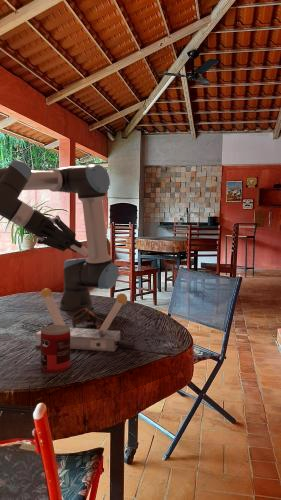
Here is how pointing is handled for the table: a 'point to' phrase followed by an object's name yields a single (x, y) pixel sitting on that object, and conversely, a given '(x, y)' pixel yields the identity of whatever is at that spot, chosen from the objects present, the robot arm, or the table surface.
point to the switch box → (93, 340)
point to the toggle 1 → (52, 306)
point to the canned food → (55, 348)
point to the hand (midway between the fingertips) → (87, 253)
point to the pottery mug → (84, 317)
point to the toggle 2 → (113, 312)
